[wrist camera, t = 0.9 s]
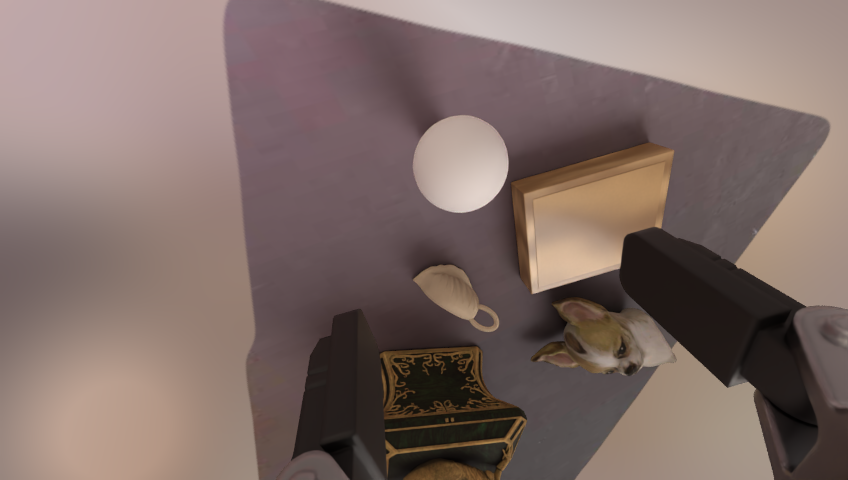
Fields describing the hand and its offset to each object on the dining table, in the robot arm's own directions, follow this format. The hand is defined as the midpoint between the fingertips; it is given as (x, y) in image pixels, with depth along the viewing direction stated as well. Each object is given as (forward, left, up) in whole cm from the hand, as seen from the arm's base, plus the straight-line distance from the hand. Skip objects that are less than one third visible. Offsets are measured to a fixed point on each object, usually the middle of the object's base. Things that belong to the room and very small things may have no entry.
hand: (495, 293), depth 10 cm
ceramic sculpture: (+29, +16, -21) cm, 39 cm away
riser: (+13, +15, -21) cm, 29 cm away
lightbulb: (+1, +2, -21) cm, 21 cm away
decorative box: (+29, -7, -21) cm, 36 cm away
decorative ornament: (+17, 0, -21) cm, 27 cm away
